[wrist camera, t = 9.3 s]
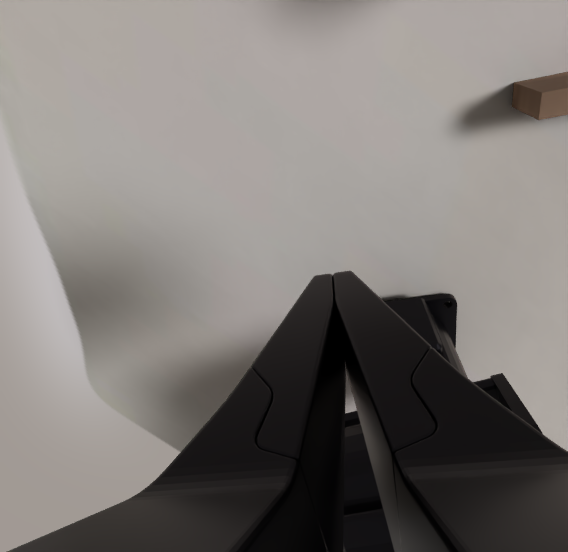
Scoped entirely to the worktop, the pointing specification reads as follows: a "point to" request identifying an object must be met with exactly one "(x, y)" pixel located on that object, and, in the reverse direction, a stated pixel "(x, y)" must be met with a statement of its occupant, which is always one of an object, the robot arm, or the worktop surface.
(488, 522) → the robot arm
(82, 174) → the worktop surface
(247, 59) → the worktop surface
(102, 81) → the worktop surface
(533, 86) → the carrier bracket
